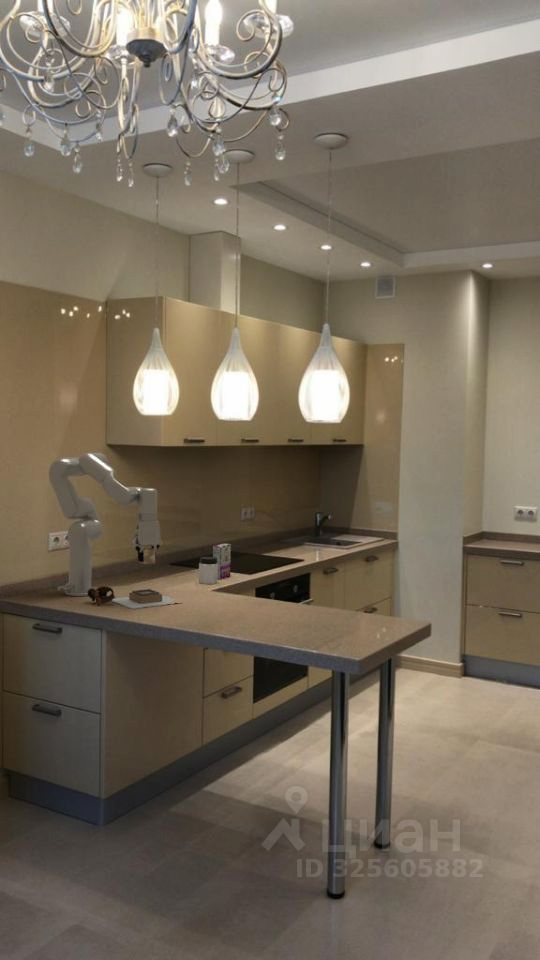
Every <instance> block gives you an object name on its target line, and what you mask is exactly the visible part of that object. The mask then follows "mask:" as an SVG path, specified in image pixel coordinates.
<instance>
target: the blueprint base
mask: <svg viewBox="0 0 540 960" xmlns="http://www.w3.org/2000/svg"><path fill="white" fill-rule="evenodd" d="M173 599H174V600H176V599H175V598H172V597H169V596H166V595H163V594H162V593H160V592H159V591H157V590H154V589H151V588H148V589H139V590H138V589H137V590H132V591H131V592H130V591H129V596H126V597H117V598H116V597H115V598H114V599H113V600H112V601H111V600H110V602H111V603H114V604H116V605H117V604H118V605H119V606H122V607H125V608H128V609H130V610H137V608H138V609H144V608H143V607H147V608H152V607H151V606H156V607H158V606H157V605H163V604H169V603H170V602H172V601H173ZM173 603H174V602H173Z"/></svg>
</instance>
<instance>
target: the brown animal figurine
mask: <svg viewBox="0 0 540 960" xmlns="http://www.w3.org/2000/svg"><path fill="white" fill-rule="evenodd" d="M110 592H111V593H110ZM108 593H110V594H109V595H108ZM87 594H88V597H89V598H90V599H91V601H92V602H94V601H95V602H96V603H95V604H96V605H97V606H98V607H99V606H101V605H102V604H106V603H110V602H111V601H112V600H113V599H114V598H116V596H115V592H114V590H113V588H112V587H110V586H106V585H103V586H102V585H101V586H98V587H97V588H96V589H95V588H92V587H91V589H89V590H88V592H87ZM110 600H111V601H110Z"/></svg>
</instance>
